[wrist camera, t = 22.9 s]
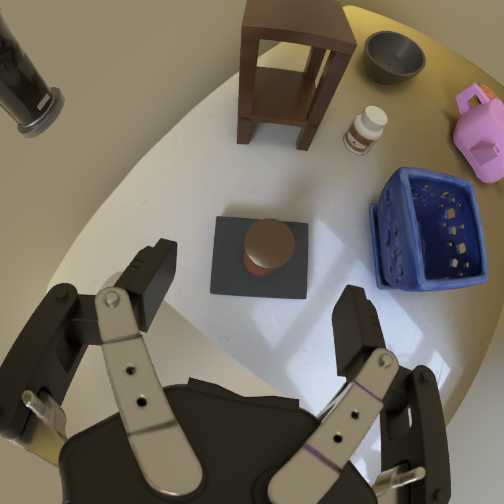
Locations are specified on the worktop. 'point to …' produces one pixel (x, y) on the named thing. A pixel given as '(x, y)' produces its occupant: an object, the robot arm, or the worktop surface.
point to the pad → (245, 283)
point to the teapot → (481, 134)
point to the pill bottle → (365, 130)
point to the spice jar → (267, 246)
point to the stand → (286, 81)
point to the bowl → (392, 57)
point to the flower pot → (427, 233)
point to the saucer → (489, 92)
